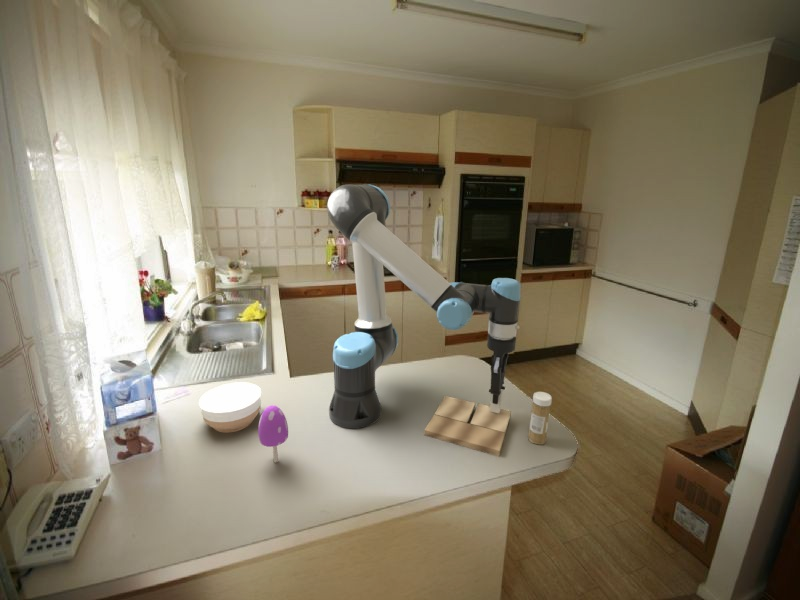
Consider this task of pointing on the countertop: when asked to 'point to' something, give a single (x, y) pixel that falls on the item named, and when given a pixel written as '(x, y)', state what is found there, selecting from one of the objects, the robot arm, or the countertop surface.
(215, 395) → the bowl
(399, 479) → the countertop surface
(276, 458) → the toy
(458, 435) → the laid board
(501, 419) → the plank
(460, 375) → the countertop surface
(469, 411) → the plank
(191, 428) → the countertop surface
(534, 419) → the sprinkles bottle
